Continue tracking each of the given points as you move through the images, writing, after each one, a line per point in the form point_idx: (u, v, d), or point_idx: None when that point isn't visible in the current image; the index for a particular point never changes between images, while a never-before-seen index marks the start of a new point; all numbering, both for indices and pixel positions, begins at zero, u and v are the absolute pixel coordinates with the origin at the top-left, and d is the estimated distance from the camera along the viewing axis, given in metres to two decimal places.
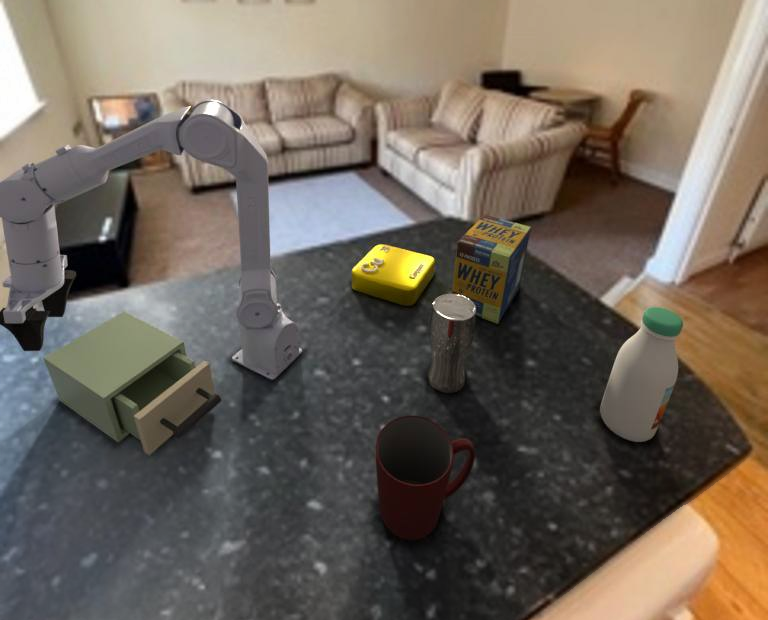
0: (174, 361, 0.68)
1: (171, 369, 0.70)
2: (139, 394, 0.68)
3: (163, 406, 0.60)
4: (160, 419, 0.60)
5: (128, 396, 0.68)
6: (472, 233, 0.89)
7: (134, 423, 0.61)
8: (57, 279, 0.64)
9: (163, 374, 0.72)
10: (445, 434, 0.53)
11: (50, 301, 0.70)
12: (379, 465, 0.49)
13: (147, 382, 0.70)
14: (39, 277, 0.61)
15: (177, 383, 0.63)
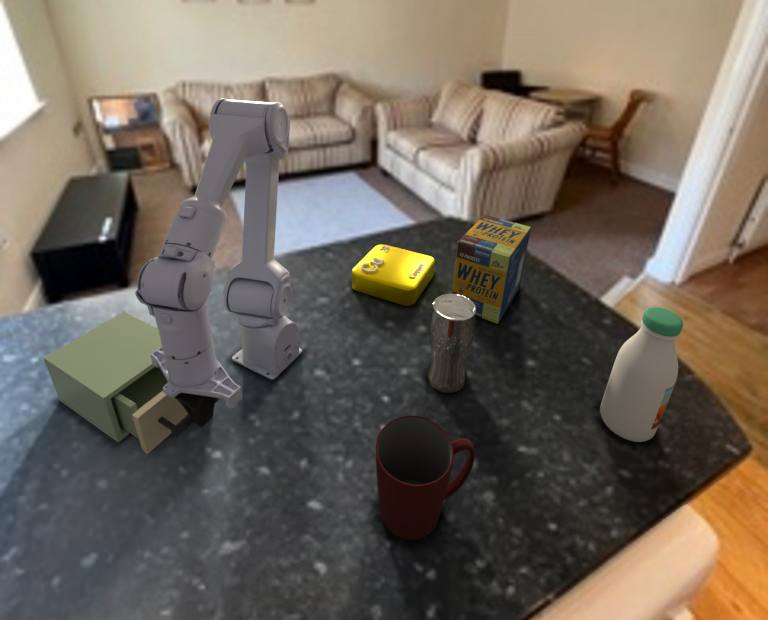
0: None
1: None
2: (137, 393, 0.68)
3: (161, 405, 0.61)
4: (158, 418, 0.61)
5: (126, 395, 0.68)
6: (472, 234, 0.89)
7: (132, 422, 0.61)
8: None
9: (161, 373, 0.72)
10: (445, 434, 0.53)
11: None
12: (379, 465, 0.49)
13: (145, 381, 0.70)
14: (213, 357, 0.57)
15: None
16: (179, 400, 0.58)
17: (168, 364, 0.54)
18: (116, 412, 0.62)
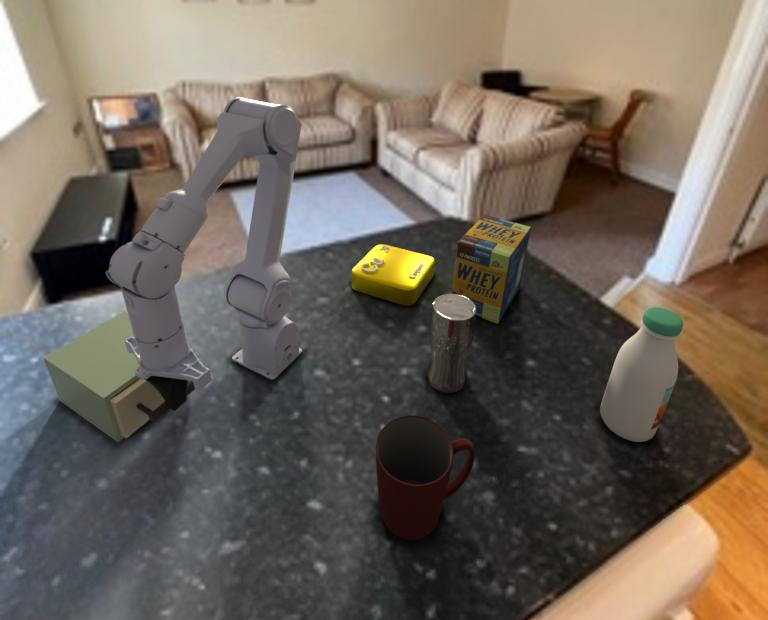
0: None
1: None
2: None
3: (139, 391, 0.63)
4: (136, 404, 0.63)
5: None
6: (472, 234, 0.89)
7: None
8: None
9: None
10: (445, 434, 0.53)
11: (173, 392, 0.62)
12: (379, 465, 0.49)
13: None
14: (183, 341, 0.59)
15: None
16: (154, 385, 0.60)
17: (139, 348, 0.56)
18: None
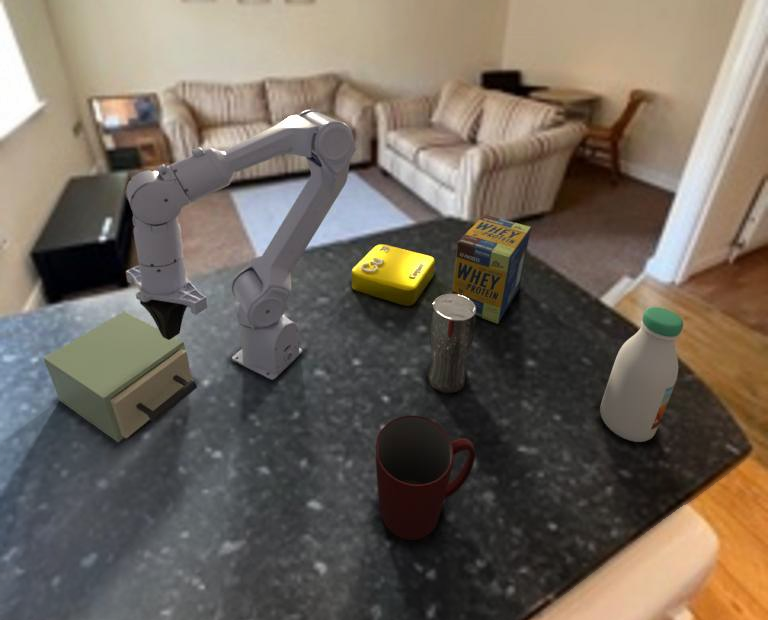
0: None
1: None
2: None
3: (139, 391, 0.63)
4: (136, 404, 0.63)
5: None
6: (472, 233, 0.89)
7: None
8: None
9: None
10: (445, 434, 0.53)
11: None
12: (379, 465, 0.49)
13: None
14: (183, 271, 0.64)
15: (154, 370, 0.65)
16: (150, 310, 0.64)
17: (142, 272, 0.61)
18: None
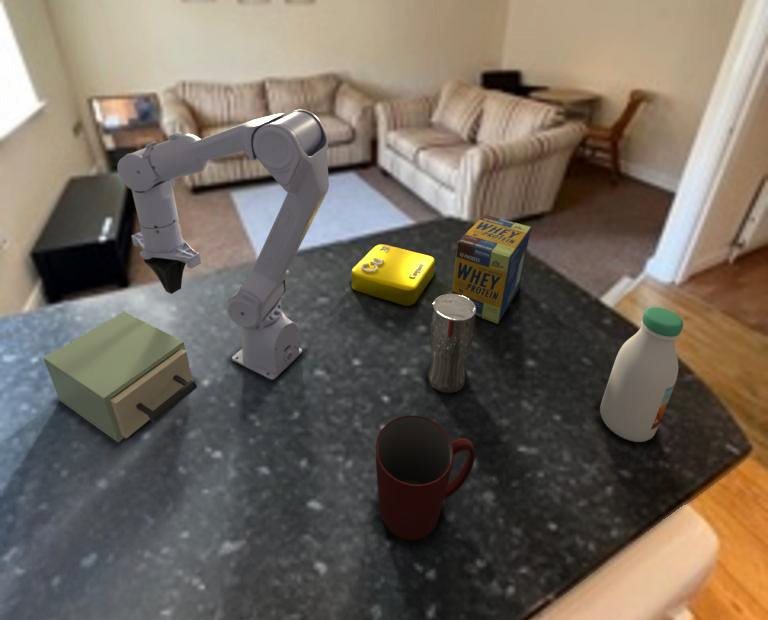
0: None
1: None
2: None
3: (139, 391, 0.63)
4: (136, 404, 0.63)
5: None
6: (472, 234, 0.89)
7: None
8: None
9: None
10: (445, 434, 0.53)
11: None
12: (379, 465, 0.49)
13: None
14: (179, 233, 0.73)
15: (154, 370, 0.65)
16: (153, 268, 0.75)
17: (143, 233, 0.71)
18: None
